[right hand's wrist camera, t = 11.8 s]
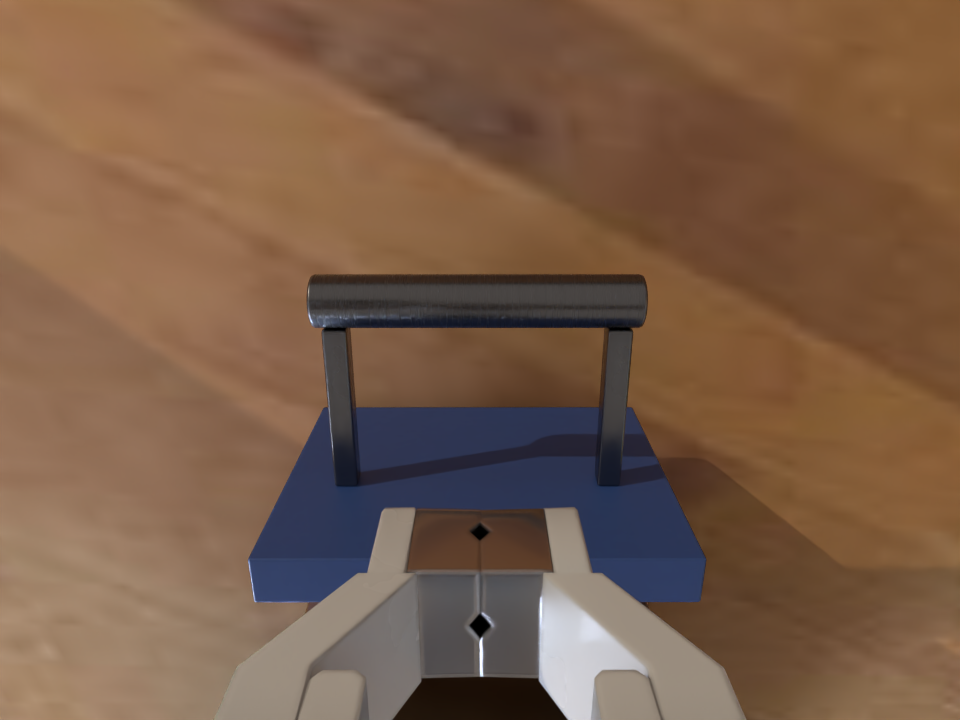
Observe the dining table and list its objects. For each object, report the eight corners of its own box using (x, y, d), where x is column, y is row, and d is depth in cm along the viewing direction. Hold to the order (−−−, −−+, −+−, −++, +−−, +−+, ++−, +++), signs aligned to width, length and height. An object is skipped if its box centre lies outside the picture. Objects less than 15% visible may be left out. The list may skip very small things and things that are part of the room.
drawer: (307, 237, 20) (210, 317, 13) (647, 237, 20) (743, 317, 13) (359, 798, 29) (318, 1037, 21) (597, 798, 29) (637, 1037, 21)
